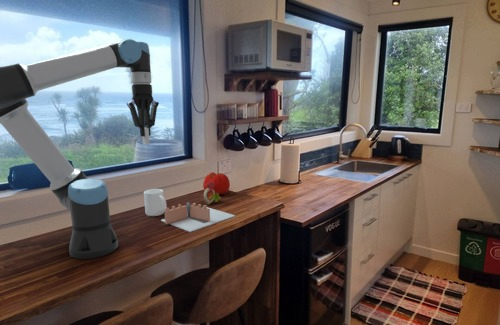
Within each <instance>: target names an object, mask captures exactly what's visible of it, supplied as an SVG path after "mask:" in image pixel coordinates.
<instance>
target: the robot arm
mask: <svg viewBox="0 0 500 325" xmlns="http://www.w3.org/2000/svg"><path fill="white" fill-rule="evenodd" d="M150 53H151V52H150V46H149V43H147V42H143V41H136V40H134V39H131V38H126V39H122V40H120V41H117V42H113V43H109V44H98V45H97V46H96V47H93V48H89V49H84V50H80V51H77V52H73V53H70V54H69V53H68V54H65V55H62V56H57V57H54V58H50V59H46V60H42V61H38V62H34V63H30V64H26V65H24V64H21V63H20V62H18V63H15V64H10V65H4V66H0V125H1V126H2V127H3V128H4V130H6V131H7V132H8V134H9V135H10V136H11V137H12V139H13V140H14V141H15V142H16V143H17V144H18V145H19V147H20V148H21V149H22V150H23V152H24V153H25V154H26V155H27V156H28V158H30V160H31V161H32V162H33V163H34V164H35V166H36V167H37V168H38V169H39V170H40V171H41V173H42V174H43V175H44V176H45V177H46V179H47V180H48V181H49V182H50V184H49V189H50V191H51V192H52V193H53V194H54V196H56V198H57V199H58V200H59V203H61V205H62V206H63V207H64V208H66V209H67V210H68V211H69V212H70V218H71V224H72V225H71V226H72V233H71V238H70V242H69V246H68V252H69V253H68V254H69V256H70V257H71V258H74V259H78V260H88V259H96V258H100V257H103V256H106V255H109V254H111V253H113V252H114V251H116V250H117V249H118V248H119V241H118V237H117V235H116V233H115V231H114V228H113V227H112V224H111V214H110V204H109V202H110V201H109V190H108V186H107V182H105V181H104V180H101V179H98V178H97V179H96V178H88V177H87V175H85V173H84V172H83V170H82V169H81V168H78V167H73V165H72V164H71V163H70V162H69V160H68V159H67V158H66V157H65V155H64V153H63V152H61V150H60V149H59V147H58V146H57V145H56V144H55V143H54V141H53V140H52V138H50V136H49V135H48V134H47V132H46V131H45V129H43V127H42V126H41V125H40V123H39V122H38V121H37V120H36V119H35V117H34V116H33V115H32V114H31V112H30V111H29V110H28V106H29V101H28V100H27V99H29V98H32V97H35V96H36V94H37V93H38V92H39V91H43V90H45V89H49V88H52V87H55V86H59V85H62V84H66V83H69V82H72V81H75V80H78V79H82V78H85V77H89V76H93V75H97V74H99V73H102V72H106V71H108V70H111V69H115V68H126V69H130V80H131V83H132V84H131V93H132V98H131V100H130V101H128V102H126V105H127V107H128V108H129V112H130V115H131V117H132V121H133V124H134V127H136V128H138V129H139V133H140V134H139V135H140V137H142V140H141V141H142V145H144V146H145V145H146V146H147V145H150V144H151V143H150V136H151V134H152V133H151V128H153V127H154V126H155V125H156V118H157V111H158V110H157V109H158V107H159V104H160V102H159V101H156V100H154V97H153V85H152V72H151V54H150Z"/></svg>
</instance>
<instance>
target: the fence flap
mask: <svg viewBox="0 0 500 325" xmlns="http://www.w3.org/2000/svg"><path fill="white" fill-rule="evenodd" d="M207 207H208V204H207V205H206V204H204V205H202V204H201V203H199V204H197V203H196V202H193V203H192V204H190V206H189V208H190V217H192V218H196V219H200V220H205V221H210V209H209V208H210V207H208V208H207Z"/></svg>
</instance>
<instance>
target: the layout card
mask: <svg viewBox="0 0 500 325" xmlns="http://www.w3.org/2000/svg"><path fill="white" fill-rule="evenodd" d="M207 208H209V209H210V221H205V220H200V219H196V218H192V217H187V218H185V219H182V220H179V221H175V222H172V223H169V224H168V225H171V226H173V227H176V228H178V229H181V230H184V231H186V232H189V233H192V232H195V231H198V230H200V229H204V228H206V227H209V226H212V225H214V224H218V223H221V222H224V221H226V220H229V219H232V218H235V217H236V215H235V214H232V213H228V212H226V211H222V210H218V209H214V208H211V207H208V206H207ZM160 221H161V222H163V223H165V218H162V219H160Z"/></svg>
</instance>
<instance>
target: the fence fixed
mask: <svg viewBox="0 0 500 325" xmlns="http://www.w3.org/2000/svg"><path fill="white" fill-rule="evenodd" d="M190 205H191V202H188V201H187V202H186V205H182V204H180V203H178V204H177V207H176V206H175V205H172V206H171V209H170V208H169V207H166V210H165V211H164V219H165V222H164V224H165V225H170V224H169V223H172V222H175V221H179V220H182V219H185V218H187V217H190V208H189V206H190Z"/></svg>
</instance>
